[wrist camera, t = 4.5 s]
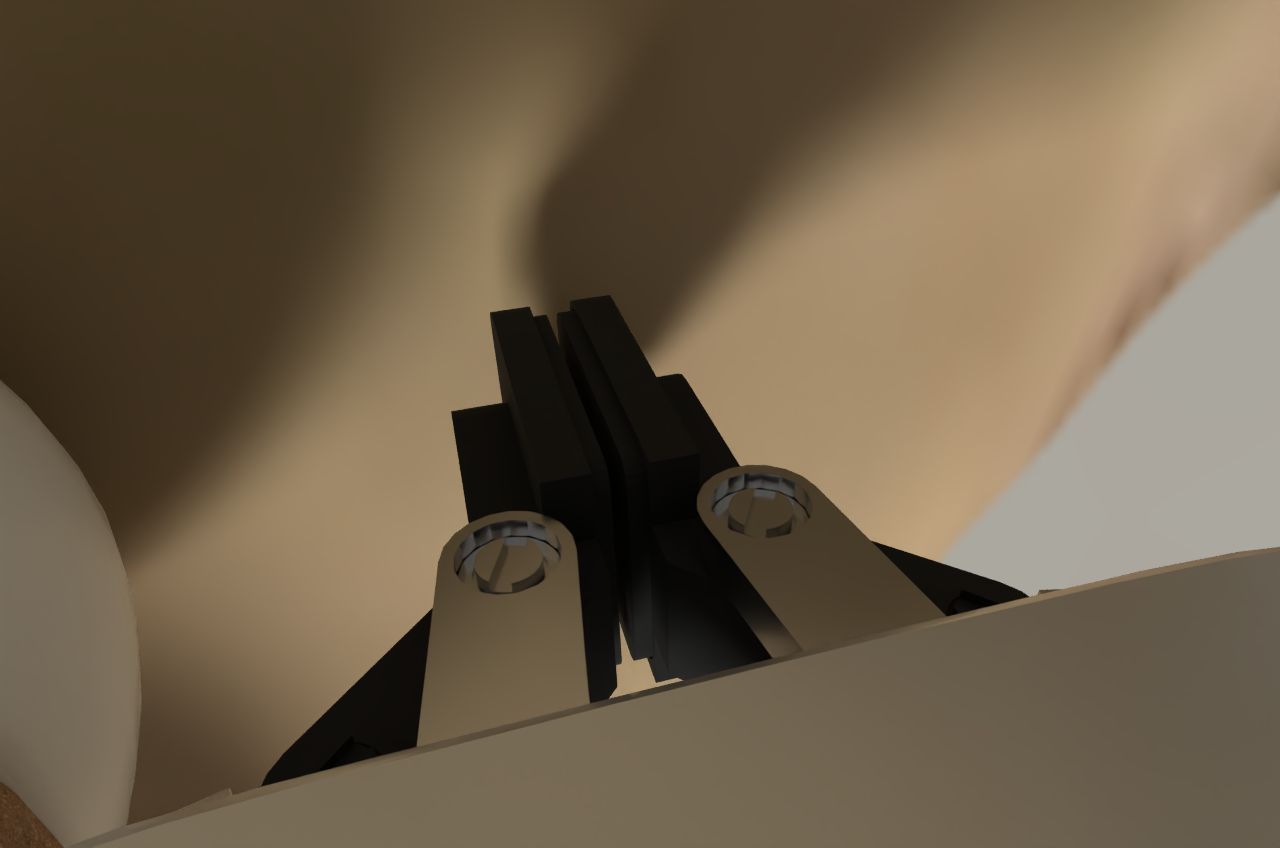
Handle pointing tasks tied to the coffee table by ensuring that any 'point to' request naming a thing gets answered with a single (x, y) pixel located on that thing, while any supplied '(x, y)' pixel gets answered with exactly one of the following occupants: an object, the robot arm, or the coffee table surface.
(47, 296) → the coffee table surface
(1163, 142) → the coffee table surface
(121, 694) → the lidded jar
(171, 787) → the coffee table surface
